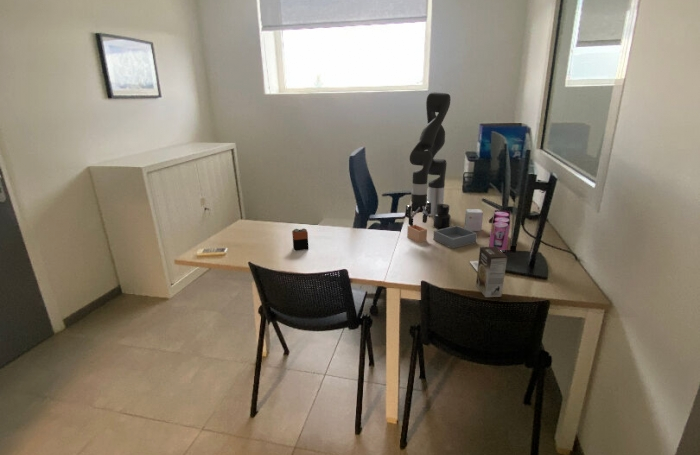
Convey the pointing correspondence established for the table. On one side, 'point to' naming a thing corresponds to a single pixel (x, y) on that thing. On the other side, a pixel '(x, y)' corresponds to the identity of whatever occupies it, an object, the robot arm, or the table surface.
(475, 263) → the touchpad
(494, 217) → the gum box
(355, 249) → the table surface
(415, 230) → the box
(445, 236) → the crate
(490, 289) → the coffee box
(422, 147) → the robot arm
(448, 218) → the ink bottle
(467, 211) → the small box
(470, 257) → the table surface
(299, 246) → the battery
